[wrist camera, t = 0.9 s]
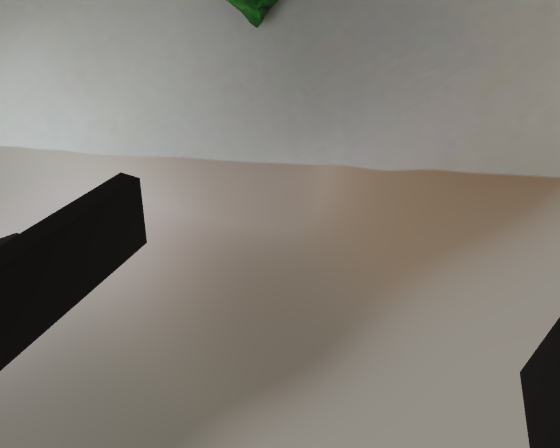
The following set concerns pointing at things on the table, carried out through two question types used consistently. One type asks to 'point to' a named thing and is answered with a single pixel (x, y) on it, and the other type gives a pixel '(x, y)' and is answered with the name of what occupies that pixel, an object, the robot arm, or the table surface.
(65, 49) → the table surface
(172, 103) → the table surface
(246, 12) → the snack package
